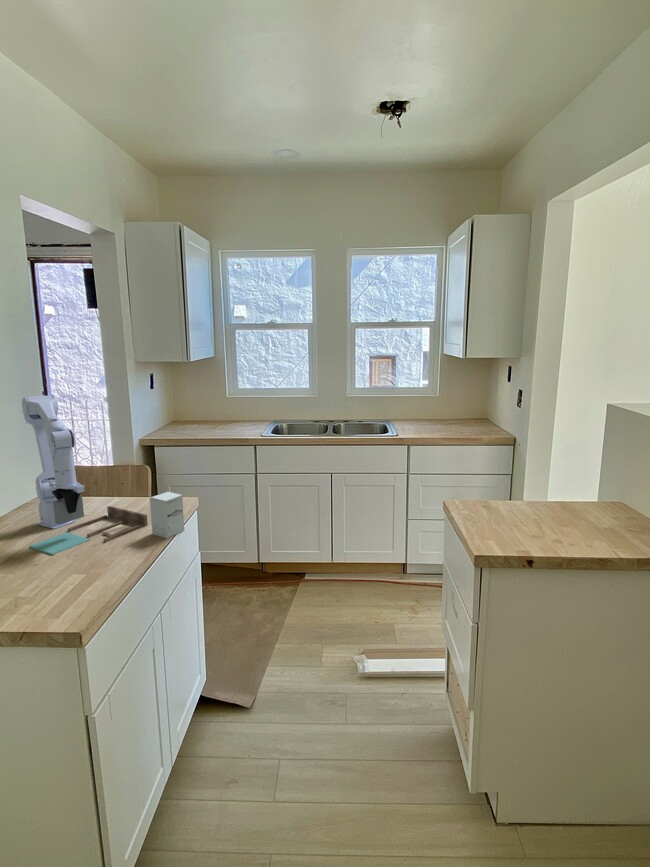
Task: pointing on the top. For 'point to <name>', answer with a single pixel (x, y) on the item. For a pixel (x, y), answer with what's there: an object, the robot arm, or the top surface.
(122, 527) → the offcut top
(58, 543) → the mat
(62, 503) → the block
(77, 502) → the robot arm
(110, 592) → the top surface
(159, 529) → the supplement box
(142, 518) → the rack
